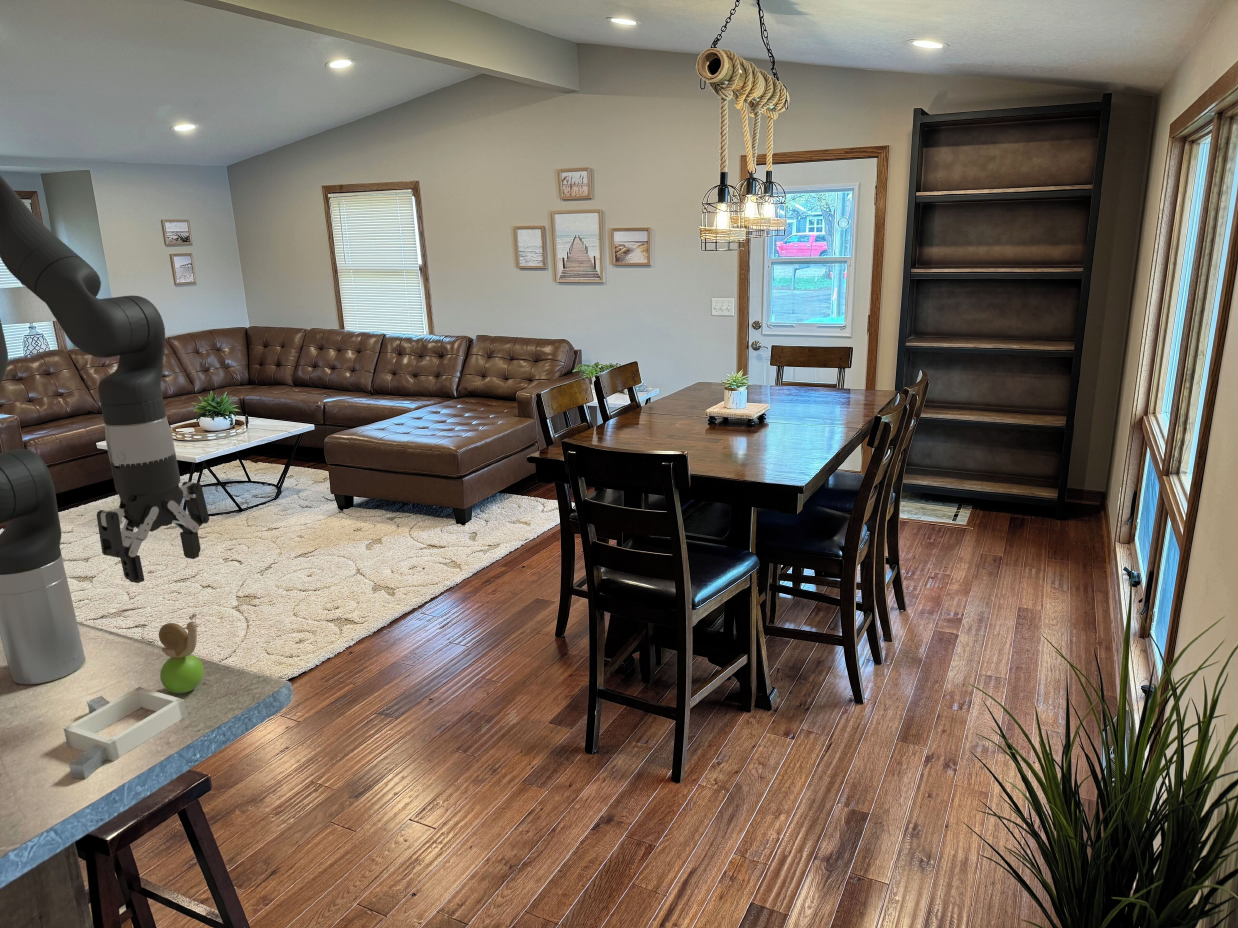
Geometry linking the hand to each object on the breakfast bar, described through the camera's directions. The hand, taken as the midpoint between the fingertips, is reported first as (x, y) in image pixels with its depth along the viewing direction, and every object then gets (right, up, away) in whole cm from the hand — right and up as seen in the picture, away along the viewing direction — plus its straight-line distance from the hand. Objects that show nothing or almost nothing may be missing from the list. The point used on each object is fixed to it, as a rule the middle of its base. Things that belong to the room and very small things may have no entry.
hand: (165, 569), depth 115 cm
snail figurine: (+1, -18, +5) cm, 19 cm away
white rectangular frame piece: (-5, -21, -5) cm, 22 cm away
